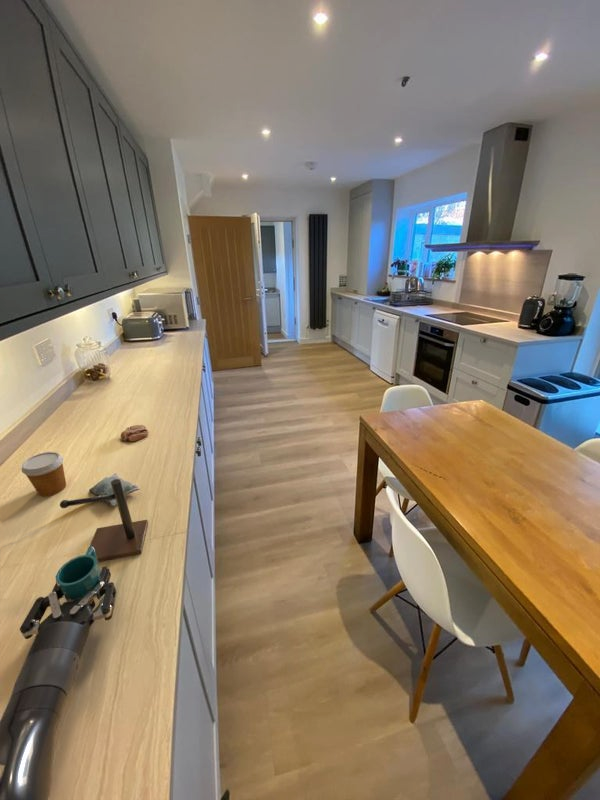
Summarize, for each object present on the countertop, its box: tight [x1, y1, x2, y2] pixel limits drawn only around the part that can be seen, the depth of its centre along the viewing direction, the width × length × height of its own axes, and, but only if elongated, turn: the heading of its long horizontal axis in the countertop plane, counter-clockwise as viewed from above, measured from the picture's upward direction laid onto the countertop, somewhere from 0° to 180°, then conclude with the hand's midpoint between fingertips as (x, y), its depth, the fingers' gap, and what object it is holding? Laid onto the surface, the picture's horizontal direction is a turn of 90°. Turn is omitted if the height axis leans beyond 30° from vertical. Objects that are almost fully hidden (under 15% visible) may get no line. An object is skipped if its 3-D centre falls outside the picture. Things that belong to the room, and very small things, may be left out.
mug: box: [55, 545, 105, 612], centre depth 66 cm, size 11×7×10 cm, turn 15°
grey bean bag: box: [88, 473, 141, 507], centre depth 94 cm, size 9×12×5 cm
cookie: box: [120, 424, 149, 442], centre depth 126 cm, size 10×11×3 cm
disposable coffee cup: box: [21, 451, 67, 498], centre depth 93 cm, size 10×10×12 cm
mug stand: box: [59, 479, 149, 563], centre depth 76 cm, size 15×10×18 cm, turn 105°
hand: (86, 573), depth 65 cm, fingers closed on mug, 6 cm apart
